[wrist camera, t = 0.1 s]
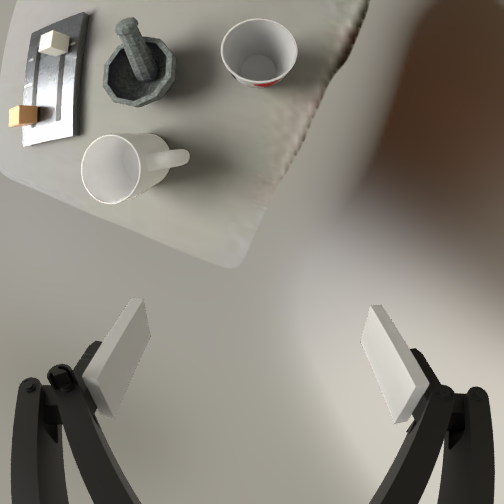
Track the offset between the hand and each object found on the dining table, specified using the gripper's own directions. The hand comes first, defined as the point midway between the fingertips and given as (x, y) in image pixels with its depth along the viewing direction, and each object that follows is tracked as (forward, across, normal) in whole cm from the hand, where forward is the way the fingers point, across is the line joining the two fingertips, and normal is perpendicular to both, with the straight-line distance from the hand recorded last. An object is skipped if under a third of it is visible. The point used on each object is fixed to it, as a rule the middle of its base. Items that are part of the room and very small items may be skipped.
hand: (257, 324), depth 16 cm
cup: (+28, 0, +20) cm, 35 cm away
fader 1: (+26, -37, +17) cm, 48 cm away
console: (+28, -34, +23) cm, 50 cm away
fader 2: (+26, -31, +28) cm, 49 cm away
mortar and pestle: (+28, -15, +20) cm, 38 cm away
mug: (+28, -14, +7) cm, 32 cm away
